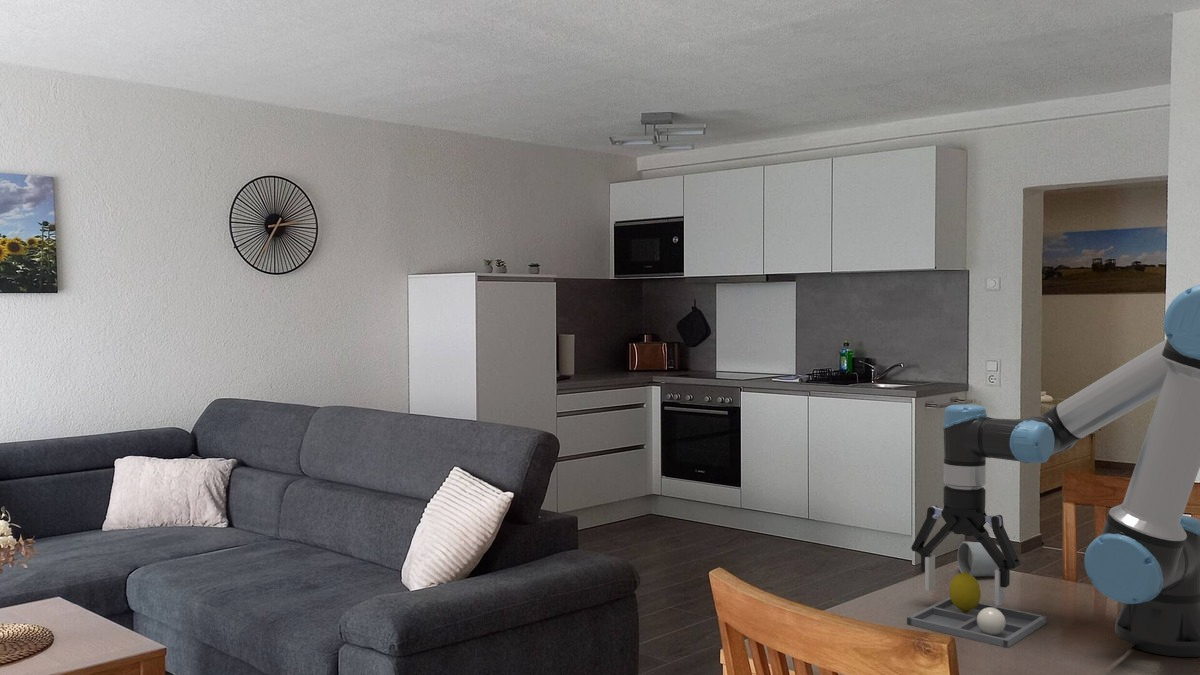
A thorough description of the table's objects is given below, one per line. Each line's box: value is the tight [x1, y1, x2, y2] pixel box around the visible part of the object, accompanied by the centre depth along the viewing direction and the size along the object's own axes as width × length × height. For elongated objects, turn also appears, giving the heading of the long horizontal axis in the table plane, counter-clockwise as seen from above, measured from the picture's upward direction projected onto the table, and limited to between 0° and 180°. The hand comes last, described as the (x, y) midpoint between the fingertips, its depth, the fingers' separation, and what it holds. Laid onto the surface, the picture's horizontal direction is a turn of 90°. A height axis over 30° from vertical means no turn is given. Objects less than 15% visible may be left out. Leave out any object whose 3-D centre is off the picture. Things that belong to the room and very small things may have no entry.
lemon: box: [949, 572, 982, 613], centre depth 184 cm, size 6×6×8 cm
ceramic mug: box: [957, 541, 1004, 578], centre depth 216 cm, size 11×8×8 cm
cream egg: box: [977, 607, 1006, 635], centre depth 172 cm, size 5×5×5 cm
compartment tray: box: [906, 596, 1048, 649], centre depth 178 cm, size 18×18×2 cm
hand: (963, 596), depth 185 cm, fingers open, 13 cm apart
